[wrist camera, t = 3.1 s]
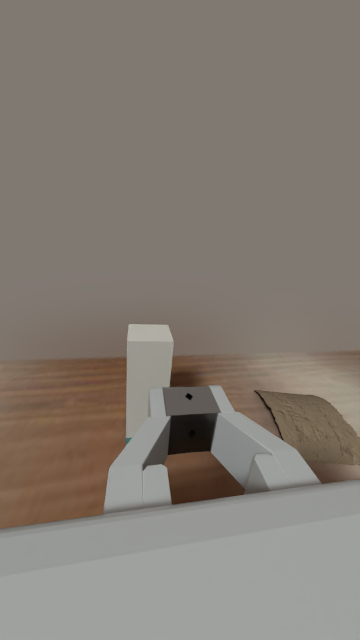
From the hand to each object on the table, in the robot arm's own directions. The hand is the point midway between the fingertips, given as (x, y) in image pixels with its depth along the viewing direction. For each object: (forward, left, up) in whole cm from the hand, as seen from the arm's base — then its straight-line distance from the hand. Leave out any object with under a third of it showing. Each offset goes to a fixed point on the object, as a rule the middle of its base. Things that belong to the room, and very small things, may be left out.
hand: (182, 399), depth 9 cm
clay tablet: (+21, +14, -17) cm, 31 cm away
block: (-1, +15, -16) cm, 22 cm away
